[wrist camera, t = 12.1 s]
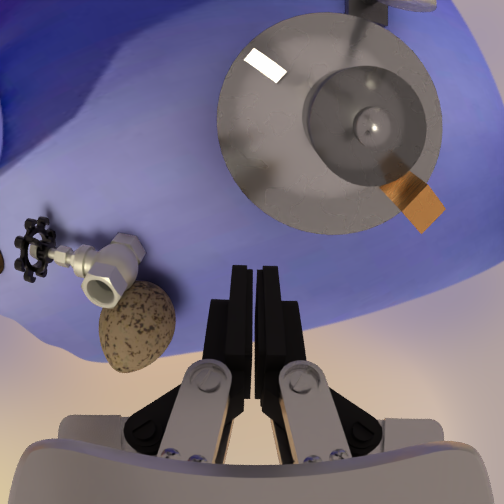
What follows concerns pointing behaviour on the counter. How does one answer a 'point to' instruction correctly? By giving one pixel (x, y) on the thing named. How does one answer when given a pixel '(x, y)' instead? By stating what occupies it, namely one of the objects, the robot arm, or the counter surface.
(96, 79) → the counter surface
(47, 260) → the valve
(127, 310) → the decorative egg
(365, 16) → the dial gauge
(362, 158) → the cover
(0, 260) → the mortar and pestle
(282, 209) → the turntable
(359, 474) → the robot arm
